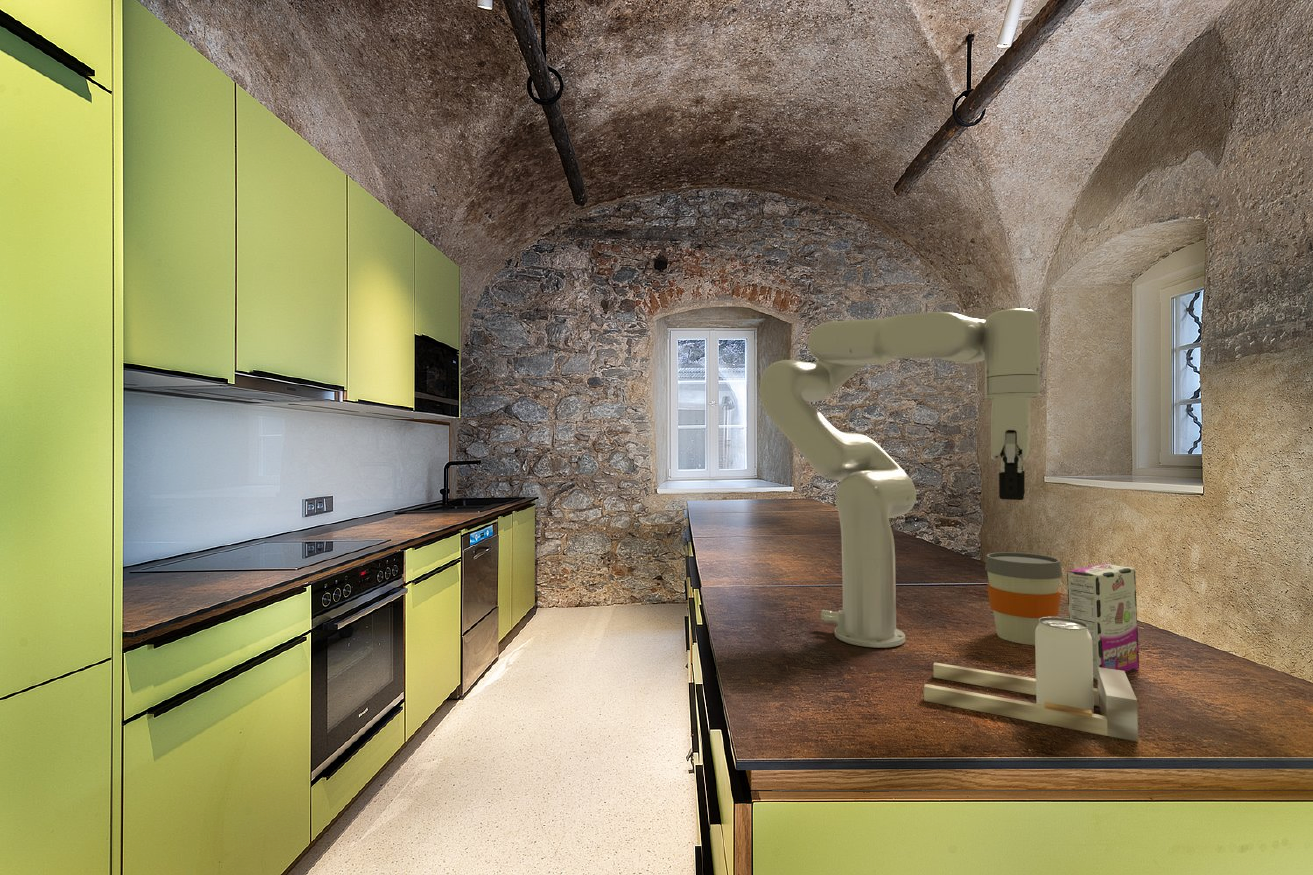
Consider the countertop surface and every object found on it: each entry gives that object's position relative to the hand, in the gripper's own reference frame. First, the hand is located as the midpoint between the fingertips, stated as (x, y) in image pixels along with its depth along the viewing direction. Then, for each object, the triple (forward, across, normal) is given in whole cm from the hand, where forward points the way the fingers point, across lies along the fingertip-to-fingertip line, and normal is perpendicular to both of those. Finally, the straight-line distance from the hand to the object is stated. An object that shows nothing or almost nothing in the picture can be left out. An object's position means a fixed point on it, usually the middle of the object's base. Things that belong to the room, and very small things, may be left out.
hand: (1012, 497), depth 96 cm
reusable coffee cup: (+28, -23, +1) cm, 37 cm away
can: (+28, +12, +6) cm, 31 cm away
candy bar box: (+28, -9, +12) cm, 32 cm away
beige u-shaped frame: (+28, +12, 0) cm, 30 cm away
